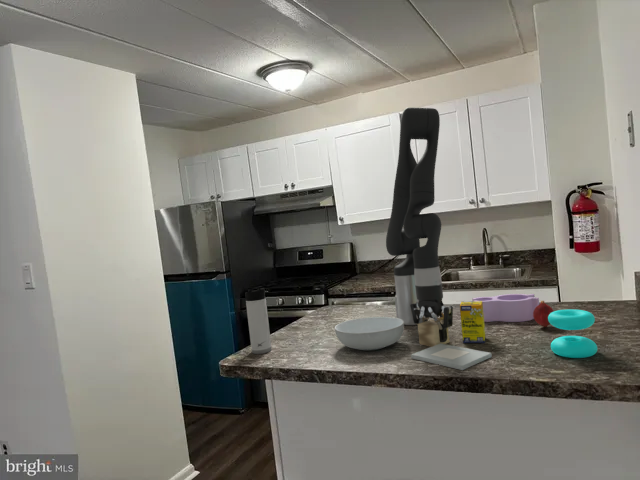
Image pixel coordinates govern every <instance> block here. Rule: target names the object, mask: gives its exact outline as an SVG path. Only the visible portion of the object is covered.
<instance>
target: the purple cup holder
mask: <svg viewBox="0 0 640 480" xmlns="http://www.w3.org/2000/svg"><path fill="white" fill-rule="evenodd" d="M472 301H482V303H483V313H484V323H487V322H488V323H489V322H505V323H506V322H507V323H519V322H528V321H531V320H535V319H534V317H533V311H534V309H535V308H536V307H537V306H538V305H539V304H540V299H539V297H535V294H534V293H530V294H525V293H508V294H507V293H505V294H500V295H499V294H498V295H493V296H480V297H479V296H478V297H474V298H473V297H472Z"/></svg>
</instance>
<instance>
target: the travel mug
mask: <svg viewBox="0 0 640 480" xmlns="http://www.w3.org/2000/svg"><path fill="white" fill-rule="evenodd" d="M244 296H245V306H246V315H247V322H248V331H249V340H250V347H251V349H250V350H251V353H252V354H254V355H261V354H266V353H270V352H271V351H272V340H271V333H270V323H269V316H268V307H267V299H266V290H265V287H262V288H258V289H254V290H251V291H249V292H244Z"/></svg>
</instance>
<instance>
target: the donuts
mask: <svg viewBox="0 0 640 480" xmlns="http://www.w3.org/2000/svg"><path fill="white" fill-rule="evenodd" d="M553 311H554V310H553ZM548 321H549V323H550V325H551V326H552V327H554V328H557V329H559V330H564V331H579V330H585V329H588V328H590V327H591V326H593V325H594V323H595V321H596V317H595V316H594V314H593V313H592V312H590V311H587V310H583V309H576V308H575V309H558V310H555V311H554V312H552V313H550V314H549V316H548ZM550 349H551V351H552V352H553V353H554V354H556V355H558V356H560V357H563V358H569V359H570V358H571V359H583V358H590V357H592V356H594V355H596V353H597V352H598V345H597V343H595V341H593V340H592V339H590V338H588V337H585V336H580V335H564V336H563V335H562V336H559V337H557V338H554V339H553V340H552V341H551V343H550Z"/></svg>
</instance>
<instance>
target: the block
mask: <svg viewBox="0 0 640 480" xmlns="http://www.w3.org/2000/svg"><path fill="white" fill-rule="evenodd" d="M442 325H443V324H442ZM417 330H418V331H417V332H418V341H419V343H418V344H419V345H421V346H426V347H432V346H435V345H438V344H440V343H441V344H446V345H447V344H449V343H450V334H449V327H448V328H447V340H446V341H445V342H440V337H439V327H438V325H437V323H436V322H435V321H434V319H428V321H425V322H423V323H419V324H417Z"/></svg>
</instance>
